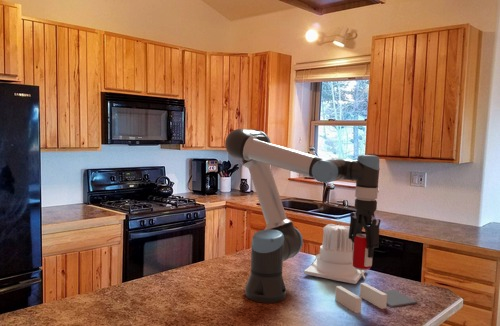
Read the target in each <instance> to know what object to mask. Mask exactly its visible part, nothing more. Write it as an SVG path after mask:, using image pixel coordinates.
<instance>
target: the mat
mask: <svg viewBox="0 0 500 326" xmlns="http://www.w3.org/2000/svg"><path fill="white" fill-rule="evenodd" d="M381 291H382V292H383V293H385V294H387V302H386V306H388V307H390V308H396V307H402V306H408V305H415V304H418V301H417V300H415V299H413V298H412V297H409V296H407V295H405V294H403V293H401V292H399V291H397V290H395V289H391V290H385V291H383V290H381Z"/></svg>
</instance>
